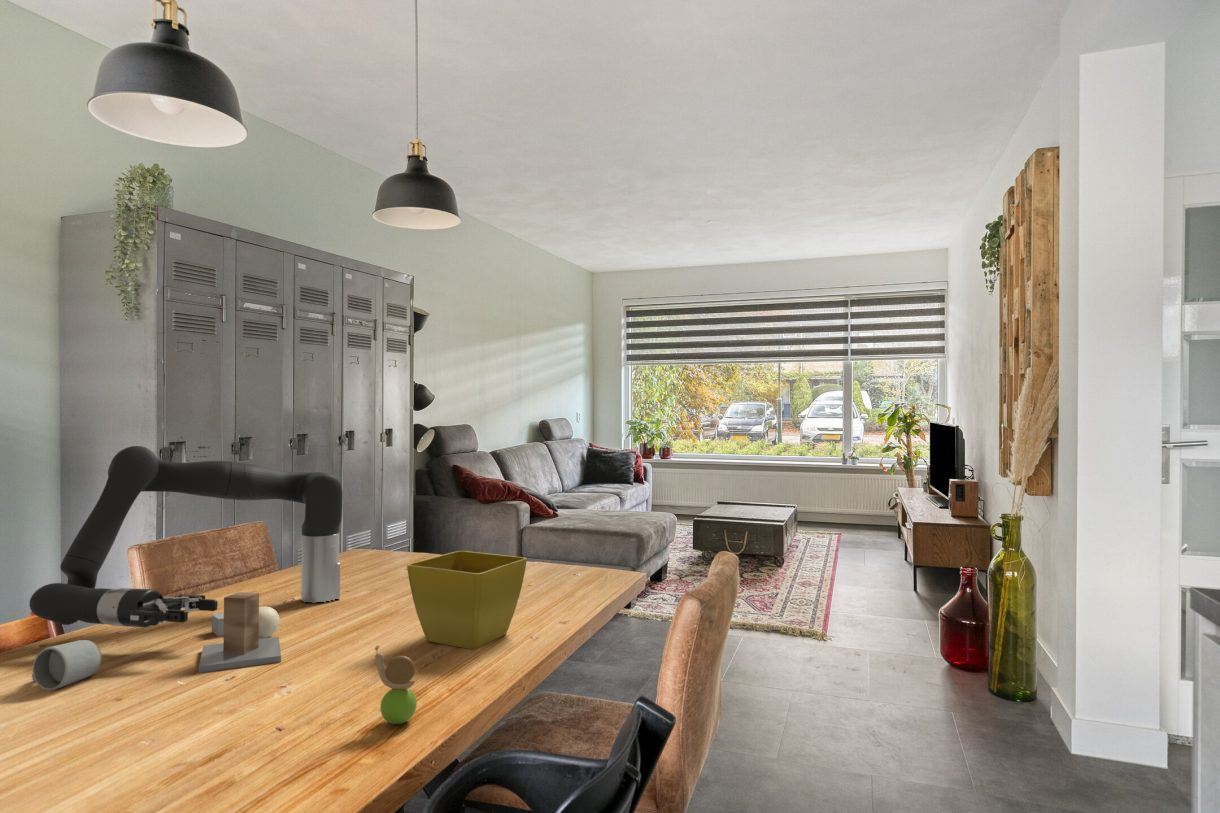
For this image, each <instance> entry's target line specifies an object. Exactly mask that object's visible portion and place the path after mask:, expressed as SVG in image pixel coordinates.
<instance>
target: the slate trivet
mask: <svg viewBox="0 0 1220 813" xmlns="http://www.w3.org/2000/svg"><path fill="white" fill-rule="evenodd" d="M223 643H224V642H221V643H212V644H204V645H203V646H202V651H201V655H200V660H199V664H198V673H199V674H201V673H208V672H216V671H223V670H230V669H238V668H246V667H252V666H253V667H254V666H260V665H268V664H274V663H281V662H282V652H281V646H280V644H281V642H280V637H279V636H270V637H267V638H261V639H259V647H258V648H256V649H254V650H252V651H250V652H248V653H246V654H244V655H243V654H224V653H223Z"/></svg>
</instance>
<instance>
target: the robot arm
mask: <svg viewBox="0 0 1220 813" xmlns="http://www.w3.org/2000/svg"><path fill="white" fill-rule="evenodd" d="M108 466H109V467H108V468H107V469H108V470H107V480H106V482H105V485H104V488H103V489H102V492H101V494H100V496H99V498H98V500H97V502H96V504H95V506H94V507H93V509H92V511H90V514H89V515H88V516H87V519H86V520H85V521H84V524H82V526H81V528H80V529H79V531H78V533H77V534H76V536H75V537H74V539H73V541H72V543H71V545H70V547H69V548H68V550H67V552H66V554H65V556H64V557H63V559H62V562H61V563H60V567H59V568H60V571H61V572H62V573H63V574H64V575H66V576H67V583H64V582H63V583H60V582H53V583H49V584H45V585H43V586H41V587H39V588H38V589H36V591H34V592H33V594H31V597H30V598H29V609H30V611H31V613H32V614H34V615H35V617H38V618H40V619H43V620H47V621H50V622H53V623H57V624H59V625H66V626H69V625H73V624H75V623H77V622H79V621H80V622H84V623H88V624H95V625H96V624H98V625H108V626H109V625H110V626H113V627H129V628H148V627H151V626H154V627H155V626H158V625H159V624H167V623H185V622H187V621H188V620H189V619H188V617H189V612H196V611H197V612H200V611H204V612H205V611H206V612H215V611H217V610H218V607H219V606H218V600H217V599H211V598H209V599H207V598H206V595H205V594H201V595H199V594H177V597H174V596H165V597H163V595H162V594H161V593H160V591H159V590H157V589H150V588H129V587H126V588H124V587H123V588H101V587H100V588H96V585H97V580H98V575H99V572H100V570H101V568H102V566H103V564H104V562H105V560H106V558H107V557H108V555H109V553H110V552H111V549H112V547H113V545H114V542H115V541H116V539H117V536H118V534H119V531H120V529H121V527H122V525H123V524H124V521H125V519H126V517H127V515H128V513H129V511H130V509H131V508H132V506H133V504H134V502H135V501H136V500H137V499H138V496H139V495H140V494H141V492H153V493H154V492H155V493H156V492H163V493H164V492H165V493H166V492H168V493H179V494H187V495H193V496H198V497H199V496H201V497H208V498H215V499H225V500H236V501H265V500H283V501H288V502H294V503H299V504H304V505H305V509H304V513H305V514H304V521H303V522H302V525H301V568H300V569H301V574H300V577H301V578H300V580H301V585H300V586H301V587H300V589H301V590H300V600H302V601H304V602H303V603H305V602H312V603H311V604H317V603H316V602H324V603H327V602H326V601H329V602H332V601H331V600H333V601H336V600H335V599H339V600H340V599H341V562H340V525H341V524H342V519H343V497H344V496H343V493H344V492H343V487H342V483H341V481H340V480H339V479H338V478H337V477H336V476H335V475H333V474H330V473H325V472H322V471H321V472H315V471H313V472H307V471H305V472H302V471H301V472H297V471H295V472H294V471H282V470H278V469H273V468H270V467H265V466H261V465H257V464H251V463H246V462H238V461H236V462H235V461H229V460H204V461H203V460H202V461H194V462H191V461H190V462H177V461H170V460H164V459H158V457H157V456H156V454H155V453H154V452H153V451H152V450H151V449H150V448H147V447H145V446H142V445H131V446H128V447H125V448H123V449H122V450H120V451H118V452H117V453H116V454H115V455H114V456H113V458H112V459H111V461H110V464H109V465H108ZM302 601H301V602H302Z"/></svg>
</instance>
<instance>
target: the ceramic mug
mask: <svg viewBox="0 0 1220 813" xmlns="http://www.w3.org/2000/svg"><path fill="white" fill-rule="evenodd" d="M101 663H102V652H101V649H100V647H99V645H98V644H96V642H94V641H91V640H89V639H87V640H86V639H79V640H74V641H71V642H67V643H62V644H61V643H60V644H58V645H53V646H47V647H45V648H43V649H41V651H39V653H38V654H37V655H36V656H35V658H34V661H33V664H32V674H31V677H32V678H31V679H32V681H33V683H36V684H37V686H39V687H40V688H41V689H43V690H45V689H46V690H45V691H55V690H58V689H61V688H63V687H66V686H69V685H72V684H73V683H76V682H79V681H81V680H85V679H86V678H88V677H91V676H92V675H94V674H95V673H96V672H97V671H98V669H99V668H100V666H101Z"/></svg>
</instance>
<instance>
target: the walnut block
mask: <svg viewBox="0 0 1220 813" xmlns="http://www.w3.org/2000/svg"><path fill="white" fill-rule="evenodd" d="M259 607H260V592H242V591H238V592H235V593H232V594H230V595H227V596H224V597H223V613H224V636H223V642H222V643H223V653H224V654H243V655H244V654H246V653H248V652H250V651H252V650H254V649H256V648H258V647H259Z"/></svg>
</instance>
